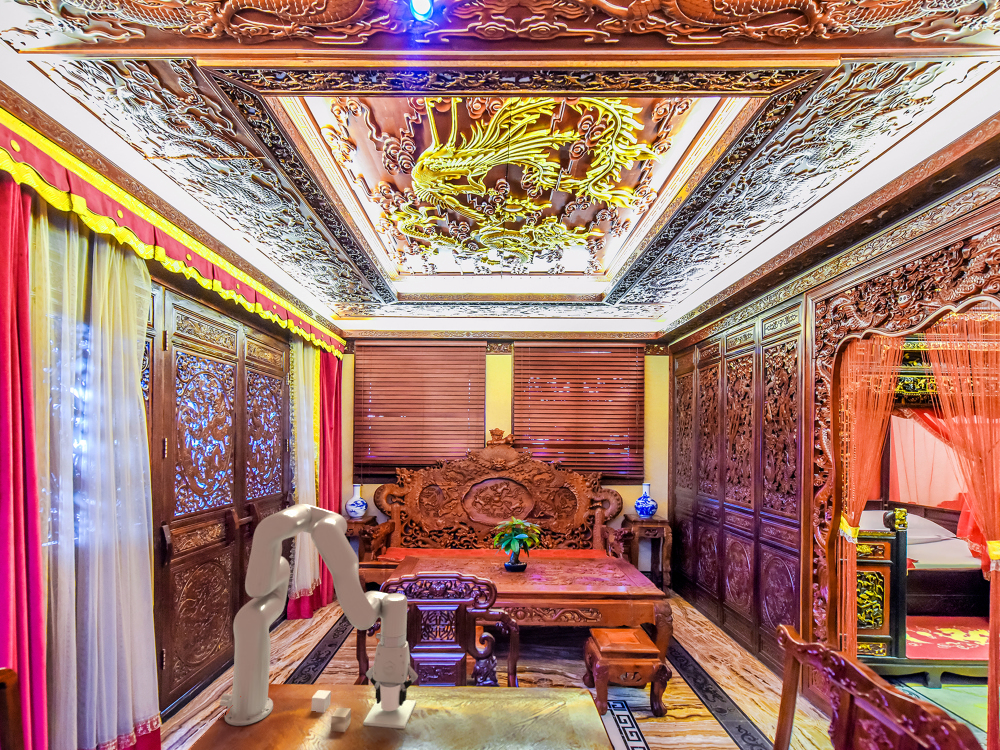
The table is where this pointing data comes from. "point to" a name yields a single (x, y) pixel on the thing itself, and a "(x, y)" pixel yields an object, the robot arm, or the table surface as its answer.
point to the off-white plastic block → (321, 701)
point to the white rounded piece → (390, 695)
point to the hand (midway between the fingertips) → (390, 701)
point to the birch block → (340, 719)
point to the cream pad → (390, 715)
